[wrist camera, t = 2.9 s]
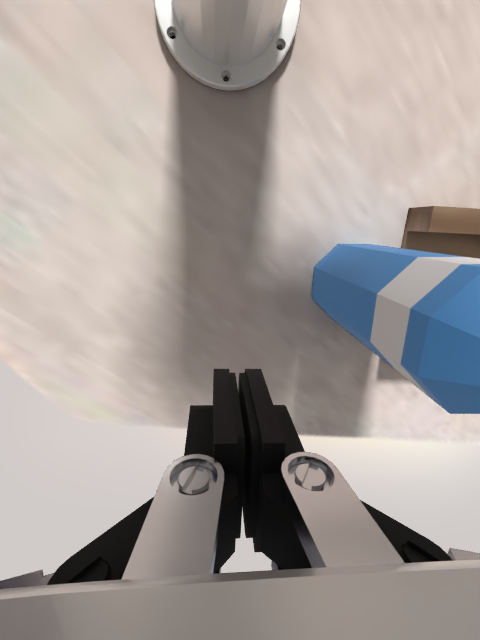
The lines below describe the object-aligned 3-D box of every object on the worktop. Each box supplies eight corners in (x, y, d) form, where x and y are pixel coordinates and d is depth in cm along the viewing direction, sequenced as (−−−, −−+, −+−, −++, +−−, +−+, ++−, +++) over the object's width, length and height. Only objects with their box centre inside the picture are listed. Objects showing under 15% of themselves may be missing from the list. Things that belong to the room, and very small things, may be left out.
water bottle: (395, 302, 37) (726, 445, 13) (323, 332, 37) (517, 522, 13) (377, 227, 34) (759, 236, 10) (299, 260, 34) (492, 342, 11)
